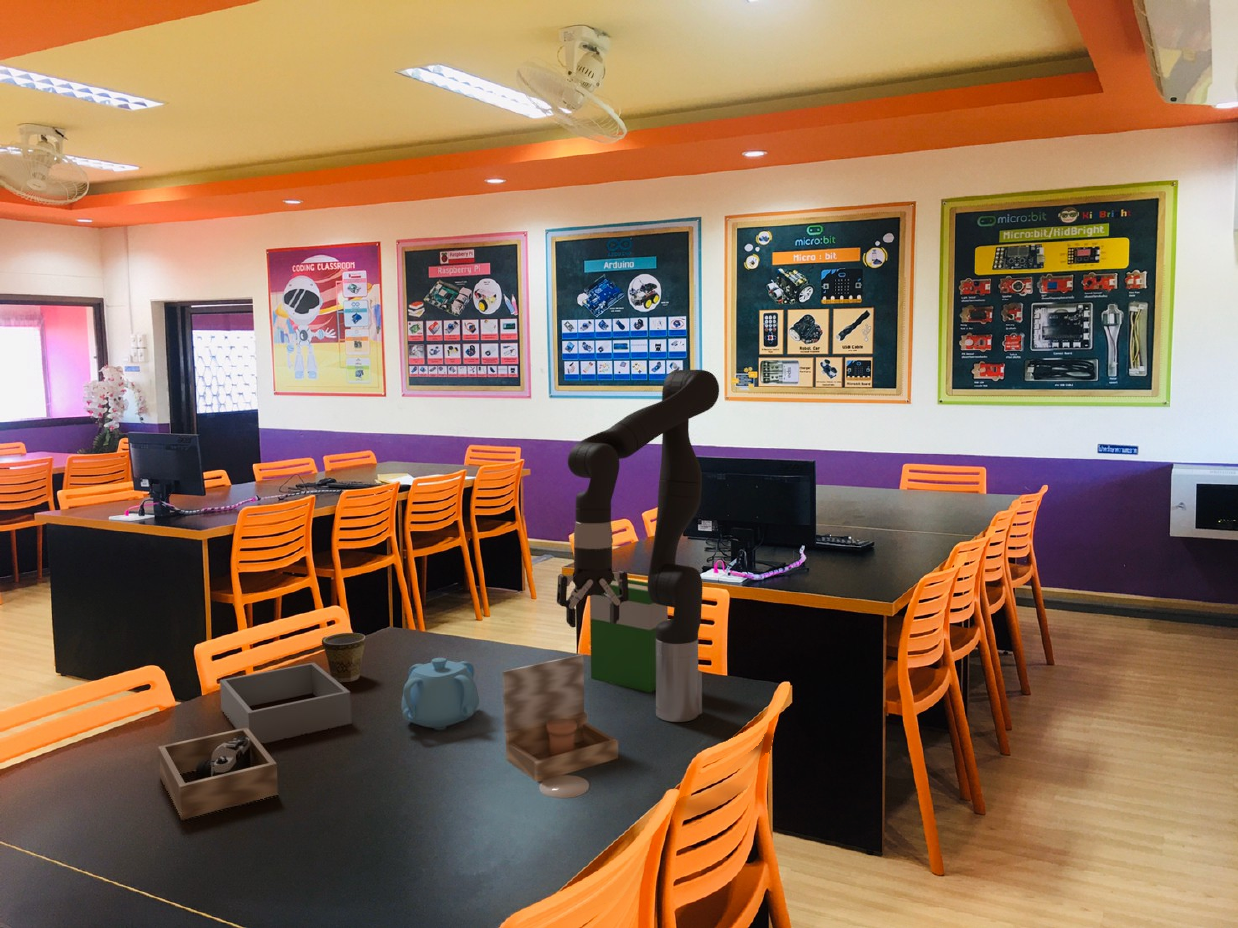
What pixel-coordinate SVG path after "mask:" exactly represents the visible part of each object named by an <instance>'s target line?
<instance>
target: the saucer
mask: <svg viewBox="0 0 1238 928" xmlns="http://www.w3.org/2000/svg"><path fill="white" fill-rule="evenodd" d="M538 788H539V789H538V790H539V791H540V793H542V794H543V795H545V796H547V797H550V798H554V799H555V798H556V799H569V798H575V797H578V796H581V795H583V794H585V793H587V791H588V790H589V789H590V783H589V782H588V781H587V779H585V778H583V777H581V776H577V775H571V774H569V775H568V774H567V775H566V774H563V775H560V776H554V777H551V778H548V779H546V780H543V781H541V782H540V783H539V787H538Z"/></svg>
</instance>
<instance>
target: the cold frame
mask: <svg viewBox="0 0 1238 928" xmlns="http://www.w3.org/2000/svg"><path fill="white" fill-rule="evenodd" d="M584 661H585V660H584V654H583V653H581V654H576V655H572V656H566V657H563V658H562V657H561V658H558V659H552V660H548V661H542V662H538V663H535V664H531V665H530V664H529V665H525V666H520V667H516V668H511V669H506V670H503V671H502V686H503V687H502V692H503V693H502V697H503V732H504V733H505V753H506V755H505V757H506V761H507V762H508V763H509V764H511V765H512V766H514V767H515V768H517V769H518V770H520V771H521V772H522V773H524V774H525V775H527V776H528V778H531V779H532V780H533V781H535V782H537V783H541V782H543V781H544V780H546V779H548V778H551V777H554V776H560V775H566V774H567V775H568V774H570V773H573V772H576V771H579V770H583V769H587V768H590V767H593V766H596V765H601V764H604V763H606V762H610V761H613V760H616V759H619V740H617V739H616V738H614V737H612V736H611V735H609V734H607V733H606V732H603V731H602V730H600V729H598V728H596V727H594V726H593V725H591V724H589V723H588V713H586V712H585V681H584V680H585V675H584V674H585V671H584V669H585V668H584V666H585V664H584ZM561 718H565V719H571V720H574V721H576V723H577V731H576V732H575V733H574V746H575V750H574V751H570V752H567V753H563V754H560V755H556V756H553V757H550V739H549V733H548V732H547V723H548V722H549V721H551V720H554V719H561Z"/></svg>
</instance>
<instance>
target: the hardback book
mask: <svg viewBox="0 0 1238 928" xmlns="http://www.w3.org/2000/svg"><path fill="white" fill-rule="evenodd" d="M647 584H648V581H647V582H645V581H640V580H634V579H628V594H629V600H628V601H626V602H625V601H624V602H622V603H621V604H620V606H619V620H618V621H617V623H616V624H612V623H611V622H610V604H611V601H610V600H609V598H608V597H607V596H606V595H605V594H604V593H603V594H602V595H592V596H589V614H590V615H589V623H590V624H589V626H590V628H589V630H590V679H592V680H596V681H600V682H604V681H606V682H605V683H608V682H611V683H610V684H612V683H614V684H613V685H618V686H622V687H625V688H629V687H631V688H630V689H633V688H634V689H633V690H637V689H639V690H638V691H641V690H642V692H645V691H646V692H645V693H649V692H651V693H653V692H655V691H656V626H657V625H658V624H659V623H661V622H663V621H666V620H669V619H668V618H669V617H668V615H669V613H668V608H669V607H668V606H663V605H659V604H656V603H654V602H652V600H651V599H650V597H649V595H648V588H647ZM609 586H610V588H611V589H612V590H613V592H614V593H615V595H616V596H618V595H619V588H618V582H617V581H616V579H615V578H614V579H613V581H612V582H611V584H610V585H609ZM654 690H655V691H654ZM652 691H653V692H652Z"/></svg>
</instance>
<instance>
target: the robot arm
mask: <svg viewBox="0 0 1238 928" xmlns="http://www.w3.org/2000/svg"><path fill="white" fill-rule="evenodd" d="M664 379H665V380H664V381H663V385H662V386H663V387H662V391H661V401H659V402H656V403H653V404H651V405H648V406H645V407H642V408H641V409H638V410H636V411H634V412H631V413H629V414H628V415H627V416H625V417H624V418H622V419H621V420H619V421H617V422H616V423H615V424H614V425H612V426H610V427H609V428H608V429H606V430H602V431H600V432H598V433H595V434H592V435H591V436H588V437H586V438H584V439H582V440H581V441H579V442H577V443H576V444H575V445H574V446H573V447H572V448H571V449H570V451H569V453H568V457H567V465H568V469H569V470H570V472H571V473H572V474H573V475H575V476H576V477H579V478H583V479H589V484H588V486H587V490H583V491H580V492H578V494H577V495H576V497H575V507H574V509H575V524H574V531H573V532H574V534H573V536H574V537H573V546H574V547H573V573H572V575H571V574H566V575H565V574H563V573H560V574H559V575H558V576H557V591H556V604H558V605H559V606H561V607H564V608H565V611H566V612H565V613H566V618H565V619H566V620H565V621H566V623H567V624H568V625H569V627H571V628H576V626H577V625H576V623H577V619H576V618H577V613H576V612H577V610H576V608H575V607H576V606H577V604H578V603H579V601H581V600H582V599H583V598H584V596H586V597H590V596H592V595H602V594H603V593H604V594H605V595H606V596H607V597H608V598H609V600H610V601H611V604H610V622H611V623H612V624H616V623H617V621H618V620H619V606H620V604H621V603H622V602H624V601H625V602H626V601H628V600H629V594H628V580H629V579H628V578H629V577H628V573H627V572H626V571H624V570H622V569H619V570H618V571H614V572H613V543H614V542H613V541H614V540H613V539H614V538H613V528H612V500H613V499H612V498H613V495H614V492H615V488H616V484H617V480H618V477H619V471H620V460H623V459H627V458H629V457H631V456H633V455H634V454H635V453H637V452H638V451H639V450H641V449H642V448H643V447H645V446H646V445H648V444H649V443H650V442H652V441H653V440H654V439H656V438H658V437H659V436H662V437H661V438H662V441H661V457H660V458H661V459H660V470H659V480H658V492H657V493H658V494H657V510H656V522H655V531H654V538H653V539H654V540H653V545H652V551H651V555H650V556H651V557H650V562H649V568H648V575H647V583H648V584H647V588H648V595H649V597H650V599H651V600H652V602H654V603H656V604H659V605H663V606H668V608H669V607H670V608H673V615H672V619H668V620H666V621H663V622H661V623H659V624H658V625H657V626H656V690H655V714H656V715H655V716H656V717H657V718H659V719H660V720H663V721H666V722H671V723H672V722H673V723H683V722H684V723H685V722H689V721H693V720H695V719H696V718H697V717H698V716H699V715H702V713H703V672H702V671H701V670H699V631H700V626H701V623H702V609H703V608H702V607H703V604H702V602H703V589H704V588H703V580H702V579H703V578H702V576H701V573H700V572H699V570H698V569H697V568H696V567H692V566H689V565H682V564H676V559H677V558H676V556H677V550H678V545H679V543H680V540H681V537H682V535H683V534H684V532H685V531H686V529H687V527H688V526H689V525H690V524H691V522H692V520H693V519H694V517H695V516H696V514H697V512H698V511H699V507H700V506H701V501H702V500H701V496H702V488H703V487H702V483H703V473H702V469H701V466H700V465H701V464H700V463H699V460H698V458H697V455H696V453H695V451H694V449H693V445H692V443H691V439H690V434H689V433H690V432H689V426H690V425H689V424H690V423H689V420H690V419H691V418H694V417H696V416H699V415H701V414H703V413H705V412H708V411H709V410H711V409H712V408H713V407H714V406H715V405H716V403H717V401H718V399H719V396H720V385H719V384H720V383H719V382H718V379H717V377H716V376H715V375H714V374H713V373H712V372H710V371H708V370H705V369H677V370H672V371H671V372H669V373H668V374H667V375H666V377H665V378H664ZM614 578H615V579H616V581H617V582H618V588H619V595H618V596H616V595H615V593H614V592H613V590H612V589H611V588H610V586H609V585H610V584H611V582H612V581H613V579H614ZM572 582H573V584H574V585H575V587H574V588H573V590H572V591H571V593H570V595H569V597H567V596H568V595H567V593H568V587H569V586H570V585H571V583H572Z"/></svg>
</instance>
